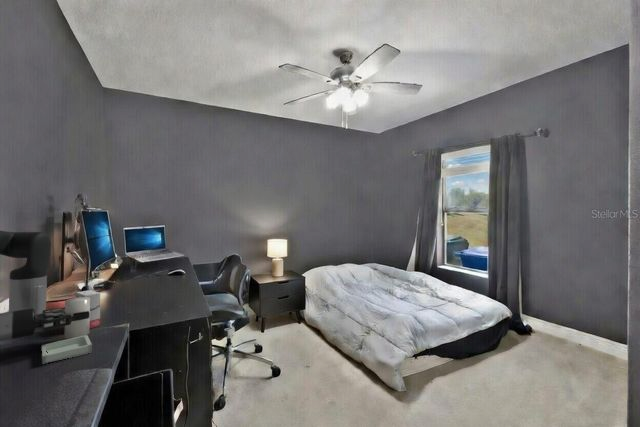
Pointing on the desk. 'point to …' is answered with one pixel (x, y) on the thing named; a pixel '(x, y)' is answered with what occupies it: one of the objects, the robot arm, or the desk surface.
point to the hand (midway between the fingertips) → (87, 312)
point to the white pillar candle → (78, 326)
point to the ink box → (92, 306)
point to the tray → (66, 349)
